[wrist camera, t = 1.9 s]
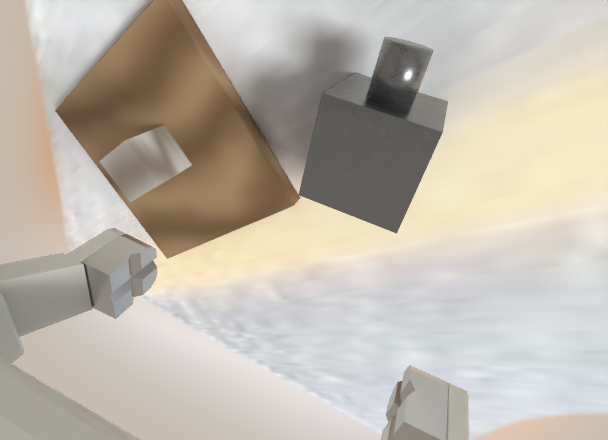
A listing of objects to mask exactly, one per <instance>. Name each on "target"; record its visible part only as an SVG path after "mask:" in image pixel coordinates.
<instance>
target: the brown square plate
mask: <svg viewBox="0 0 608 440" xmlns="http://www.w3.org/2000/svg"><path fill="white" fill-rule="evenodd" d="M55 111H56V112H57V114H58V115H59V116H60V118H61V119H62V120H63V122H64V123H65V124H66V126H67V127H68V128H69V129H70V131H71V132H72V133H73V135H74V136H75V137H76V139H77V140H78V141H79V143H80V144H81V145H82V147H83V148H84V149H85V151H86V152H87V153H88V155H89V156H90V157H91V159H92V160H93V161H94V163H95V164H96V165H97V167H98V168H99V169H100V170H101V172H102V173H103V174H104V176H105V177H106V178H107V180H108V181H109V182H110V184H111V185H112V186H113V188H114V189H115V190H116V192H117V193H118V194H119V196H120V197H121V198H122V200H123V201H124V202H125V204H126V205H127V206H128V208H129V209H130V210H131V211H132V213H133V214H134V215H135V217H136V218H137V219H138V221H139V222H140V223H141V225H142V226H143V227H144V229H145V230H146V231H147V233H148V234H149V235H150V237H151V238H152V239H153V241H154V242H155V243H156V245H157V246H158V247H159V249H160V250H161V251H162V252H163V254H164V255H165V256H166V258H167V259H168V258H170V257H173V256H175V255H177V254H180V253H182V252H184V251H187V250H189V249H192V248H194V247H196V246H199V245H201V244H203V243H206V242H208V241H211V240H213V239H215V238H218V237H220V236H222V235H225V234H227V233H230V232H232V231H234V230H237V229H239V228H242V227H244V226H246V225H249V224H251V223H253V222H256V221H258V220H261V219H263V218H265V217H268V216H270V215H272V214H275V213H277V212H280V211H282V210H284V209H287V208H289V207H291V206H294V204H295V203H296V202H297V201H298V200H299V199H300V197H299V195H298V194H297V192H296V190H295V189H294V187H293V185H292V184H291V182H290V180H289V179H288V177H287V175H286V174H285V172H284V170H283V169H282V167H281V165H280V164H279V162H278V160H277V158H276V157H275V155H274V153H273V152H272V150H271V148H270V147H269V145H268V143H267V142H266V140H265V138H264V137H263V135H262V133H261V132H260V130H259V128H258V127H257V125H256V123H255V122H254V120H253V118H252V117H251V115H250V113H249V112H248V110H247V108H246V107H245V105H244V103H243V102H242V100H241V98H240V96H239V95H238V93H237V91H236V90H235V88H234V86H233V85H232V83H231V81H230V80H229V78H228V76H227V75H226V73H225V71H224V70H223V68H222V66H221V65H220V63H219V61H218V60H217V58H216V56H215V55H214V53H213V51H212V50H211V48H210V46H209V45H208V43H207V41H206V40H205V38H204V36H203V34H202V33H201V31H200V29H199V28H198V26H197V24H196V23H195V21H194V19H193V18H192V16H191V14H190V13H189V11H188V9H187V8H186V6H185V4H184V3H183V1H182V0H153V1H152V2H151V4H150V5H149V6H148V7H147V8H146V9H145V10H144V11H143V13H142V14H141V15H140V16H139V17H138V18H137V19H136V20H135V22H134V23H133V24H132V25H131V26H130V27H129V28H128V29H127V31H126V32H125V33H124V34H123V35H122V36H121V37H120V38H119V40H118V41H117V42H116V43H115V44H114V45H113V46H112V47H111V49H110V50H109V51H108V52H107V53H106V54H105V55H104V56H103V58H102V59H101V60H100V61H99V62H98V63H97V64H96V65H95V67H94V68H93V69H92V70H91V71H90V72H89V73H88V74H87V76H86V77H85V78H84V79H83V80H82V81H81V82H80V83H79V85H78V86H77V87H76V88H75V89H74V90H73V91H72V92H71V94H70V95H69V96H68V97H67V98H66V99H65V100H64V101H63V103H62V104H61V105H60V106H59V107H58V108H57V109H56V110H55Z"/></svg>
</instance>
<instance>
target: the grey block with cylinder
mask: <svg viewBox="0 0 608 440" xmlns="http://www.w3.org/2000/svg"><path fill="white" fill-rule="evenodd" d="M432 53H433V50H432V49H430V48H428V47H425V46H423V45H420V44H416V43H413V42H410V41H406V40H402V39H397V38H391V37H384V40H383V44H382V47H381V50H380V53H379V57H378V60H377V63H376V66H375V70H374V73H373V76H372V78H370V77H366V76H363V75H360V74H357V73H355V74H353V75H351V76H350V77H348V78H346V79H345V80H343V81H341V82H340V83H338V84H336V85H335V86H333V87H331V88H330V89H328V90H327V91H325V92H323V93H322V98H321V102H320V106H319V110H318V115H317V119H316V123H315V128H314V132H313V136H312V140H311V145H310V149H309V153H308V157H307V162H306V166H305V170H304V174H303V179H302V183H301V187H300V192H299V195H300V196H303V197H305V198H308V199H310V200H313V201H315V202H318V203H320V204H323V205H326V206H328V207H331V208H333V209H336V210H338V211H341V212H343V213H346V214H349V215H351V216H354V217H356V218H359V219H361V220H364V221H366V222H369V223H372V224H374V225H377V226H379V227H382V228H384V229H387V230H389V231H392V232H395V233H397V232H398V229H399V227H400V225H401V223H402V221H403V218H404V216H405V214H406V212H407V210H408V207H409V205H410V203H411V201H412V199H413V196H414V194H415V192H416V190H417V188H418V185H419V183H420V181H421V179H422V176H423V174H424V172H425V170H426V168H427V165H428V163H429V161H430V159H431V157H432V154H433V152H434V150H435V148H436V146H437V143H438V141H439V139H440V137H441V135H442V132H443V127H444V121H445V116H446V110H447V104H448V102H447V101H444V100H441V99H437V98H434V97H431V96H428V95H425V94H421V93H418V90H419V87H420V85H421V82H422V79H423V77H424V74H425V72H426V69H427V66H428V64H429V61H430V59H431V56H432Z"/></svg>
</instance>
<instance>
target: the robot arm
mask: <svg viewBox="0 0 608 440" xmlns="http://www.w3.org/2000/svg"><path fill="white" fill-rule="evenodd" d="M156 257H157V255H156V249H155V248H153V247H152V246H150V245H148V244H146V243H144V242H142V241H140V240H138V239H136V238H134V237H132V236H130V235H128V234H125V233H123V232H121V231H119V230H117V229H115V228H112V229H108V230H106V231H104V232H103V233H101V234H99V235H98V236H96V237H94V238H93V239H91V240H89V241H88V242H86V243H85V244H83V245H81V246H80V247H78V248H76V249H75V250H73V251H71V252H70V253H68V254H67V255H65V254H63V253H60V254H55V255H49V256H44V257H39V258H33V259H28V260H23V261H17V262H12V263H7V264H2V265H0V440H140V439H138V438H137V437H135V436H133V435H132V434H130V433H128V432H127V431H125V430H123V429H121V428H120V427H118V426H116V425H115V424H113V423H111V422H110V421H108V420H106V419H105V418H103V417H101V416H100V415H98V414H96V413H94V412H93V411H91V410H89V409H88V408H86V407H84V406H82V405H81V404H79V403H78V402H76V401H74V400H72V399H71V398H69V397H67V396H66V395H64V394H62V393H61V392H59V391H57V390H56V389H54V388H52V387H51V386H49V385H47V384H45V383H44V382H42V381H40V380H39V379H37V378H35V377H34V376H32V375H30V374H29V373H27V372H25V371H23V370H22V369H20V368H18V367H17V366H15V365H13V364H12V362H14V361H15V360H16V359H18V358H19V357H20V356H21V355H23V352H24V347H23V345H22V342H21V340H20V336H22V335H25V334H28V333H30V332H33V331H36V330H38V329H41V328H44V327H46V326H49V325H52V324H54V323H57V322H59V321H62V320H65V319H67V318H70V317H73V316H75V315H78V314H81V313H83V312H86V311H88V310H91V309H92V308H95V309H97V310H99V311H101V312H103V313H105V314H107V315H109V316H111V317H113V318H115V319H116V318H117V317H118V316H119V315H120V314H122V313H123V312H124V311H125V310H126V309H127V308H129V307H130V306H131V305H132V304H133V298H134V297H136V296H140V295H143V294H144V293H145V292H147V291H148V290H149V289H150V288H151V286H152V284H153V283H154V281H155V279H156V276H157V267H156V265H155V263H154V261H153V260H154V259H155V258H156ZM386 416H387V419H388V424H387V425H386V427H385V428H384V430H383V432H382V438H381V440H469V396H468V393H467V391H465V390H463V389H460V388H458V387H456V386H454V385H452V384H450V383H447V382H446V381H444V380H442V379H439V378H437V377H435V376H433V375H430V374H428V373H426V372H424V371H422V370H419V369H417V368H415V367H413V366H409V367H407V369H406V370H405V372H404V375H403V381H400V382H398V383H397V384H396V386H395V388H394V389H393V392H392V394H391V397H390V400H389V403H388V407H387V412H386Z"/></svg>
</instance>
